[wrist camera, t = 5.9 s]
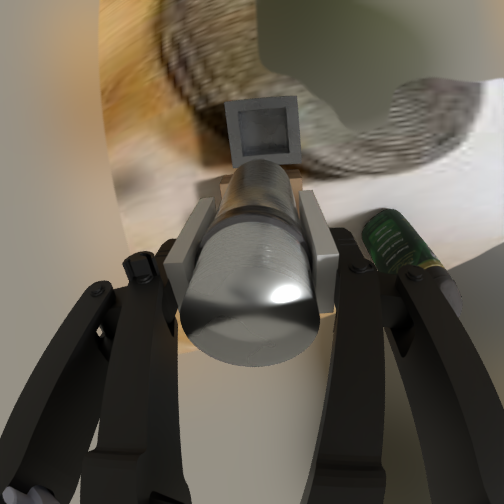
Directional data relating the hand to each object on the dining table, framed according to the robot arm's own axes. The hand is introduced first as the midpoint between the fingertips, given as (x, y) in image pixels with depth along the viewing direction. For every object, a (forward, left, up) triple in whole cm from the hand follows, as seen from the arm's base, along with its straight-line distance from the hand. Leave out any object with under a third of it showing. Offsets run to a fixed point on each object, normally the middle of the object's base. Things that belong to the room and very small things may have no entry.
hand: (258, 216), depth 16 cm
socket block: (-2, 0, -22) cm, 22 cm away
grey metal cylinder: (0, 0, -5) cm, 5 cm away
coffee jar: (+15, +18, -22) cm, 32 cm away
